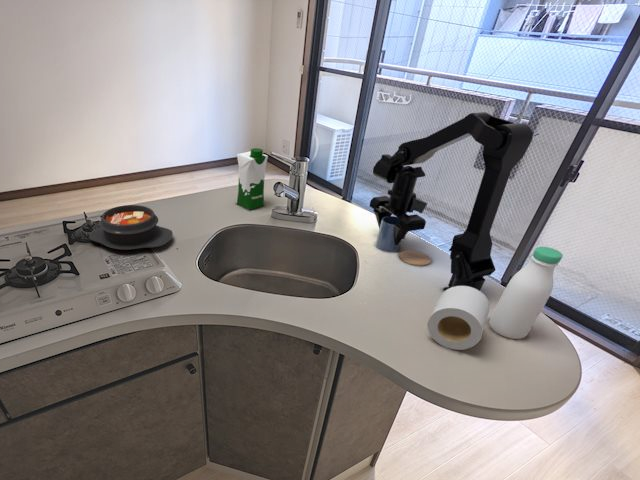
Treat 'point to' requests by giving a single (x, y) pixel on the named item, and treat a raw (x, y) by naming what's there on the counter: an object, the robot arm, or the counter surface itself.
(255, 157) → the milk carton
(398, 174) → the robot arm
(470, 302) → the toilet paper
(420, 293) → the counter surface
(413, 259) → the coaster
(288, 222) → the counter surface
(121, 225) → the casserole
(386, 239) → the blue ceramic cup
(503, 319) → the milk bottle
